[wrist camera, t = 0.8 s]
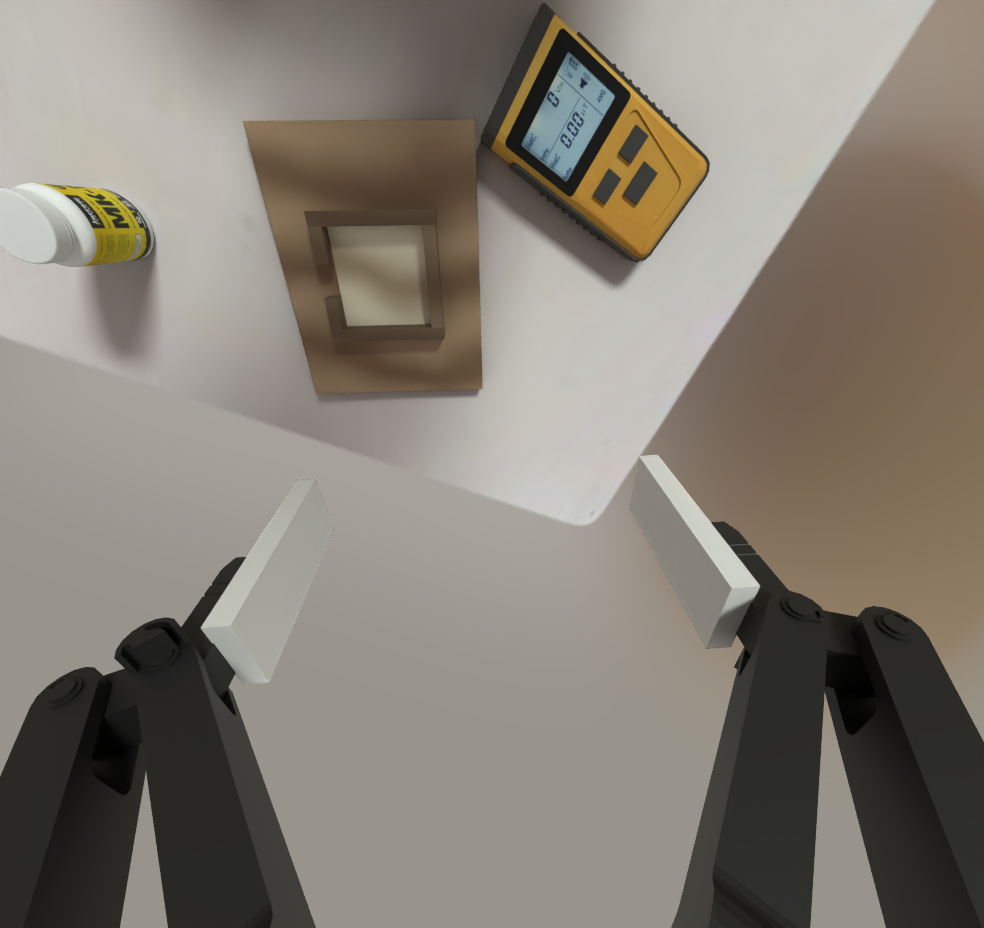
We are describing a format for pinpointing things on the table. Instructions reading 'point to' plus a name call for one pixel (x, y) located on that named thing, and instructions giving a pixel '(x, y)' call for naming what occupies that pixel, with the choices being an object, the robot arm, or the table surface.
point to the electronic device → (592, 140)
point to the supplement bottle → (72, 225)
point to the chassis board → (377, 248)
